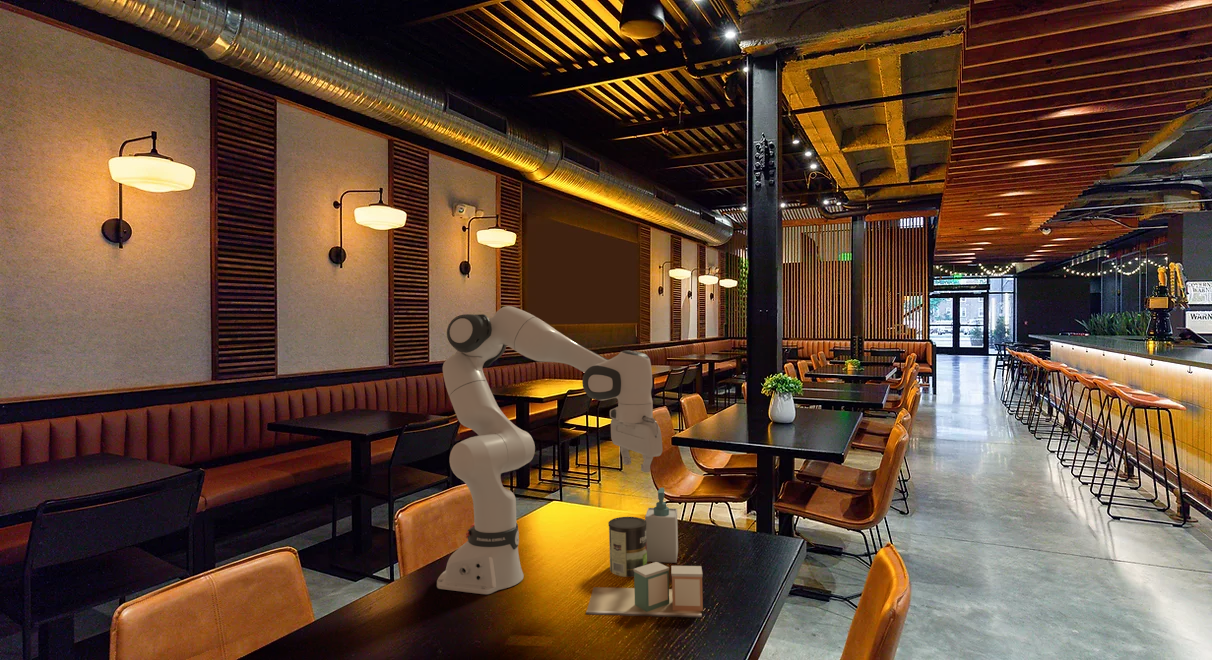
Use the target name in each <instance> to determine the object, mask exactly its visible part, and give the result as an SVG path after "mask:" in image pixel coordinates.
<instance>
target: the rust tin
mask: <svg viewBox="0 0 1212 660" xmlns="http://www.w3.org/2000/svg"><path fill="white" fill-rule="evenodd" d="M670 567H671V571H670V572H671V573H670V574H671V589H672V599H673V610H679V611H701V612H703V611H704V605H703V603H704V601H703V569H702V565H671V566H670Z"/></svg>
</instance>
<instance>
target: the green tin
mask: <svg viewBox="0 0 1212 660" xmlns="http://www.w3.org/2000/svg"><path fill="white" fill-rule="evenodd" d="M633 571H634V576H633V577H634V578H633V581H634V583H633V584H634V585H633V586H634V587H633V588H634V589H635V605H636V606H638V607H639V608H641V609H643V610H644V611H646V612H648V611H651V610H653V609H656V608H659V607H661V606H664V605H667V604H669V589H670V580H669V579H670V576H669V571H670V567H669V566H668V565H665V564H663V563H661V562H652V563H651V562H650V563H647V565H644V566H641V567H638V568H634V569H633Z"/></svg>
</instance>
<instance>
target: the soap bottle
mask: <svg viewBox="0 0 1212 660" xmlns="http://www.w3.org/2000/svg"><path fill="white" fill-rule="evenodd" d="M657 499H658V502H656V505H655V507H648V508H647V510H646V514H645V516H644V520H645V521H646V522H647V525H646V540H647V563H649V562H650V563H651V562H652V563H654V562H658V563H671V564H672V563H673V564H674V563H675V564H677V562H678V561H677V560H678V553H679V540H678V539H679V537H678V536H679V533H678V530H679V529H678V508H671V507H670V508H669V506H667V503H666V502H665V501H664V499H665V488H664V487H660V488H659V489H658V490H657Z"/></svg>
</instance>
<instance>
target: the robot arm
mask: <svg viewBox="0 0 1212 660" xmlns="http://www.w3.org/2000/svg"><path fill="white" fill-rule="evenodd" d="M446 337H447V340H448V343H449V345H451V347H453V349H455V350H456V352H454V354H452V355H451V356H449V357H448V358H446V359H445V361H444V362H443V365H442V374H443V381H444V384H445V388H446V391H447V395H448V397H449V400H450V402H451V405H452V407H453V410H454V413H455V415H456V418H457V420H458V422H459V423H460V424H461V426H463V427H466V428H468V429H470V430H472V432H474V433H476V434H477V435H475V436H471V437H468V438H466V439H463V440H461V441H460V442H457V443H456V444H455V445H453V447H452V449H451V451H450V453H449V466H450V469H451V471H452V473H453V474H454V475H455V476H456V478H458V479H460V480H461V481H463V483H464V484H466V486H467V488H468V490H469V492H470V495H471V498H472V504H473V519H474V520H473V522H472V524H470V527H469V528H468V529H467V532H466V533H465V539H467V541H466V542H465V543H463V544H462V545H461V546H460V547H459V548H457V549H456V550H455V551H454V552H453V553H452V554H451V555H450V556H449V558H448V560H447V563H446V568H445V570H444V571H443V572H442V573H441V574H440V575H439V576H438V578H437V580H436V588H437V589H438V590H447V591H456V592H463V593H470V594H471V593H472V594H480V595H490V594H494V593H495V592H497V591H500V590H505V589H507V588H511V587H513V586H516V585H518V584H519V583H521V582H522V581H523V579H524V576H525V574H524V572H523V569H522V565H521V561H520V555H519V544H520V539H519V538H520V537H519V535H520V533H519V531H520V530H519V525H518V523H517V498H516V496H515V493H513V492H512V490H510V489H508V488H507V487H504V486H503V483H502V477H501V475H502V474H503V473H508V472H512V471H515V470H519V469H520V468H522V467H524V466H525V465H527V464H529V463H531V461H532V460H533V458H534V456H535V453H536V446H535V441H534V439H533V437H532V435H531V434H530V433H529V432H528V431H526V430H523V429H521V428H520V427H518V426H517V425H515V424H514V423H513V422H512V421H511V420H510V419H509V418H508V417H507V416H506V414H504V412H503V411H502V409H501V408H500V407H499V405H498V403H497V401H496V399H495V396H494V395H493V392H492V390H491V388H490V385H489V383H488V381H487V378H486V376H485V373H484V370H483V368H488V367H489V366H491V364H492V363H493V362H495V361H497V360H498V359H499V358H501V356H502V355H503V354H504V353H505V352H506V349H507V347H509V348H510V349H512V350H513V351H515V352H517V353H518V354H520V355H522V356H523V357H525V358H527V359H530V360H533V361H535V362H539V363H545V362H546V363H559V364H564V365H568V366H571V367H574V368H575V369H577V370H579V371H580V372H583V373H584V374H583V375H582V380H581V381H582V389H583V390H584V393H585V394H586V395H587V396H588V397H589V398H590V399H592V400H595V401H607V400H611V399H617V405H618V406H616V407H614V408H612V409H610V410H609V418H611V419H610V438H611V441H612V444H613V445H615V446H618V447H619V451H620V454H621V457H622V464H623V465H627V466H628V465H631V464H632V457H631V456H630V452H629V451H632V452H635V453H637V454H641V455H642V459H643V462H642V464H641V465H640V467H641V468H640V471H641V472H642V473H649V472H651V464H652V461H654V460H653V459H654V458H655V457H660V456H661V455H662V453H663V439H662V432H661V427H660V426H659V423H658V422H657V421H656V419H655V418H654V415H653V412H654V411H653V409H654V408H653V407H654V406H653V404H654V401H653V398H652V389H653V370H652V369H653V368H652V363H651V359H650V357H649V356H648V355H647V354H646V353H644V352H641V351H636V350H630V349H629V350H627V349H626V350H622V351H620V352H619V353H618V354H617V355H615V356H613V357H611V358H610V359H608V358H607V357H603V355H602V356H601V355H599V354H598V353H596V352H594V351H592V350H590V349H588V348H587V347H585V346H583V345H581V344H579V343H577V342H575V341H573V340H572V339H571V338H569V337H568V336H566V335H564V334H563V333H562V332H560V331H559V330H557V329H555V328H554V327H553V326H551V325H550V324H549V323H547V322H546V321H543V320H542V319H540V318H539V317H537V316H536V315H534V314H531V313H530V312H527V311H526V310H523V309H520V308H519V307H515V306H511V305H506V306H503V307H501V308H500V309H498V310H497V311H496V312H495V313H494V315H493V316H492V317H488V316H487V314H481V313H480V314H479V313H478V314H474V313H473V314H472V313H471V314H467V313H465V314H459V315H457V316H456V317H454V318H452V320H451V321H450V322H449V324H448V326H447V329H446Z"/></svg>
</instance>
